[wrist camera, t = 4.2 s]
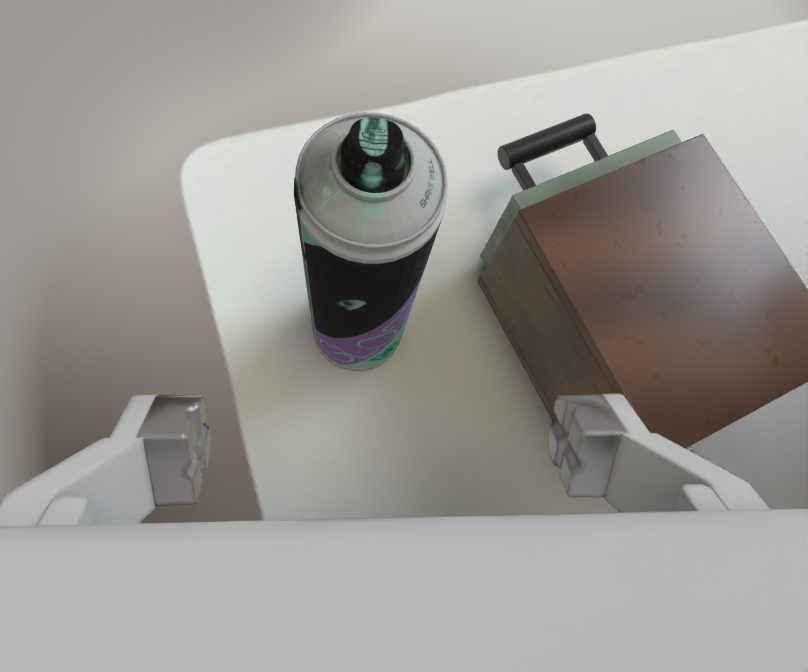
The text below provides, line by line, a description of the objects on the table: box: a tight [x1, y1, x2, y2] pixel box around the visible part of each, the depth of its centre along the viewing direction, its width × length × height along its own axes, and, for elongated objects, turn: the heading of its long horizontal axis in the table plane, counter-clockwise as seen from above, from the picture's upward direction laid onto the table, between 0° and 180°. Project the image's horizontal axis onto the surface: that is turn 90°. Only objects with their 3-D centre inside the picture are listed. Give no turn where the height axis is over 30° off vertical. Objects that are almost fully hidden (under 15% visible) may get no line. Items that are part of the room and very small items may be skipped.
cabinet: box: [478, 134, 808, 449], centre depth 35 cm, size 14×12×10 cm
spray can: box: [294, 112, 447, 370], centre depth 29 cm, size 6×6×20 cm
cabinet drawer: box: [480, 114, 682, 266], centre depth 36 cm, size 17×10×8 cm, turn 26°
